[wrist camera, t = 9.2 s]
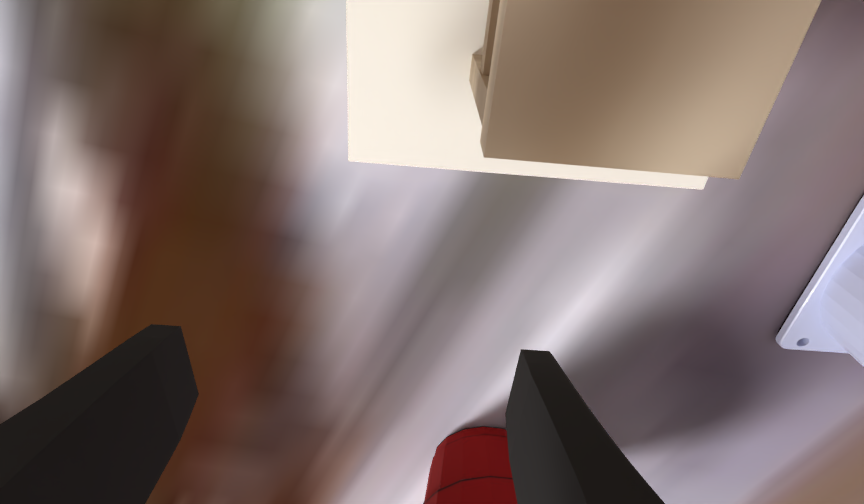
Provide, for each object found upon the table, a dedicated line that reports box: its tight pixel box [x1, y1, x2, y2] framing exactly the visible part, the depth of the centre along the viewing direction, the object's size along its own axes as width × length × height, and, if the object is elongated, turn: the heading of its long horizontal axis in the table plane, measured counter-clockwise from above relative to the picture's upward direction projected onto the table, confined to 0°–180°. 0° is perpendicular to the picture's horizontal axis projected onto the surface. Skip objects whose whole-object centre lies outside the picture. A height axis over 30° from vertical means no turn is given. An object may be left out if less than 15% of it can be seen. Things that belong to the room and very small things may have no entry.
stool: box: [469, 0, 821, 179], centre depth 11 cm, size 5×5×7 cm
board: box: [346, 0, 708, 190], centre depth 14 cm, size 13×11×1 cm
